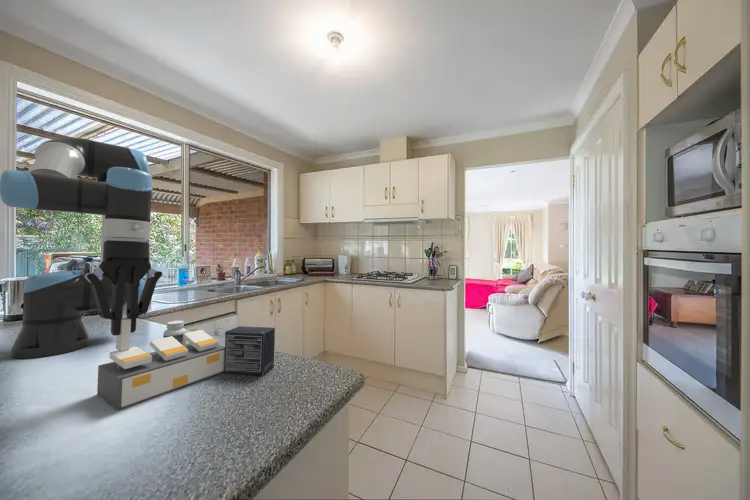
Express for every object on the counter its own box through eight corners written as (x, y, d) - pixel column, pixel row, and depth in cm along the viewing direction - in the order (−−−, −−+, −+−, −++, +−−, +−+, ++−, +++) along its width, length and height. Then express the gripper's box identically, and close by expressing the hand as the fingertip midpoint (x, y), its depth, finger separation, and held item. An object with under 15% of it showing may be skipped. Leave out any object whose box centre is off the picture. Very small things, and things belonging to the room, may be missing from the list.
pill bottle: (187, 356, 80) (188, 322, 80) (164, 361, 76) (165, 325, 76) (183, 351, 84) (184, 319, 84) (161, 355, 80) (162, 321, 80)
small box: (275, 366, 74) (276, 326, 75) (263, 376, 68) (264, 333, 68) (238, 363, 76) (239, 324, 76) (222, 373, 69) (223, 331, 69)
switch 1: (109, 357, 58) (109, 351, 58) (135, 351, 62) (136, 345, 62) (124, 369, 54) (125, 362, 54) (151, 362, 58) (152, 355, 58)
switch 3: (183, 338, 70) (183, 333, 70) (201, 333, 74) (202, 329, 74) (199, 351, 66) (200, 346, 66) (217, 346, 70) (218, 341, 70)
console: (97, 394, 58) (98, 361, 58) (202, 362, 76) (203, 337, 76) (118, 411, 52) (119, 374, 52) (226, 371, 70) (227, 344, 70)
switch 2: (149, 345, 64) (150, 340, 64) (171, 340, 68) (172, 335, 68) (165, 361, 60) (166, 355, 60) (187, 354, 64) (188, 349, 64)
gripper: (92, 238, 53) (86, 362, 53) (170, 242, 64) (165, 344, 64) (79, 238, 57) (74, 354, 57) (155, 241, 68) (151, 338, 68)
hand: (122, 348), depth 60 cm, fingers closed
